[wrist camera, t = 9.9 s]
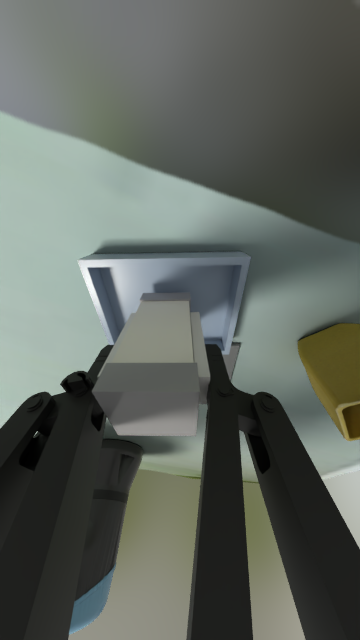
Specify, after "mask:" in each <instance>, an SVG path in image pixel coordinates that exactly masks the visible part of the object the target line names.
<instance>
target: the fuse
mask: <svg viewBox="0 0 360 640" xmlns="http://www.w3.org/2000/svg"><path fill="white" fill-rule="evenodd" d="M190 308H191V297H190V292H177V293H143V294H142V296H141V298H140V306H139V308H138V310H137V312H136V314H135V316H134V318H133V320H132V322H131V324H130V326H129V328H128V330H127V332H126V334H125V336H124V338H123V340H122V342H121V344H120V346H119V348H118V350H117V352H116V354H115V356H114V359H113V361H112V363H106V365H105V367H104V369H103V371H102V373H101V374H100V376H99V378H98V380H97V382H96V384H95V386H94V388H93V390H92V393H93V395H94V396H95V398H96V400H97V401H98V403H99V405H100V406H101V408H102V409H103V411H104V413H105V414H106V416H107V418H108V419H109V421H110V423H111V424H112V426H113V427H114V429H115V431H116V432H117V434H118V435H139V436H196V429H197V418H198V408H199V397H200V387H199V377H198V367H197V363H194V359H193V346H192V334H191V321H190Z"/></svg>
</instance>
